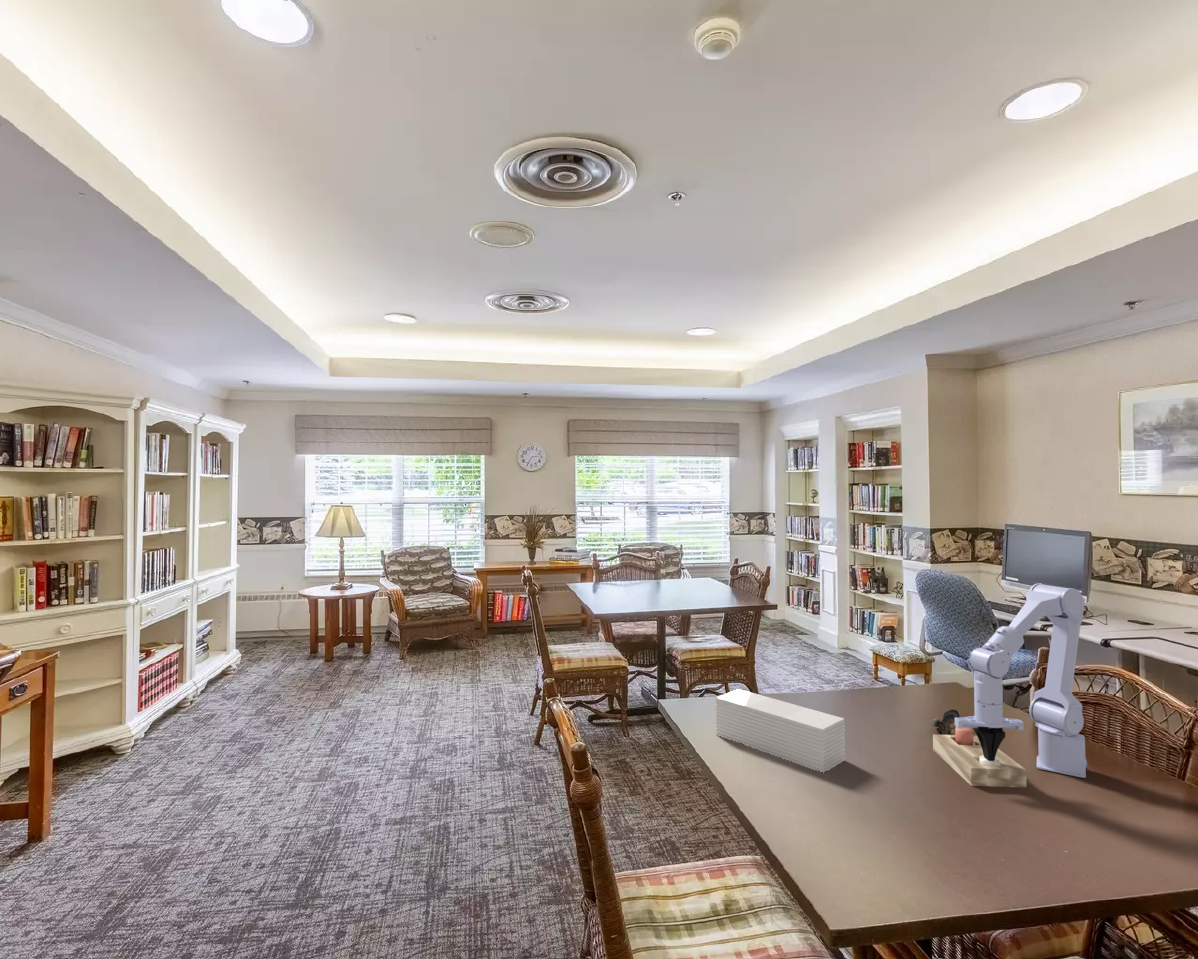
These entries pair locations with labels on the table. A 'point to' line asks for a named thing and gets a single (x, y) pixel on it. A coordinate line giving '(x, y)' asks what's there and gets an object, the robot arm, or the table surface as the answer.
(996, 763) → the ivory plunger
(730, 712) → the stack of papers
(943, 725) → the eagle figurine
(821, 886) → the table surface
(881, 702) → the table surface
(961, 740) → the pink rounded plug
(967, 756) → the press housing
